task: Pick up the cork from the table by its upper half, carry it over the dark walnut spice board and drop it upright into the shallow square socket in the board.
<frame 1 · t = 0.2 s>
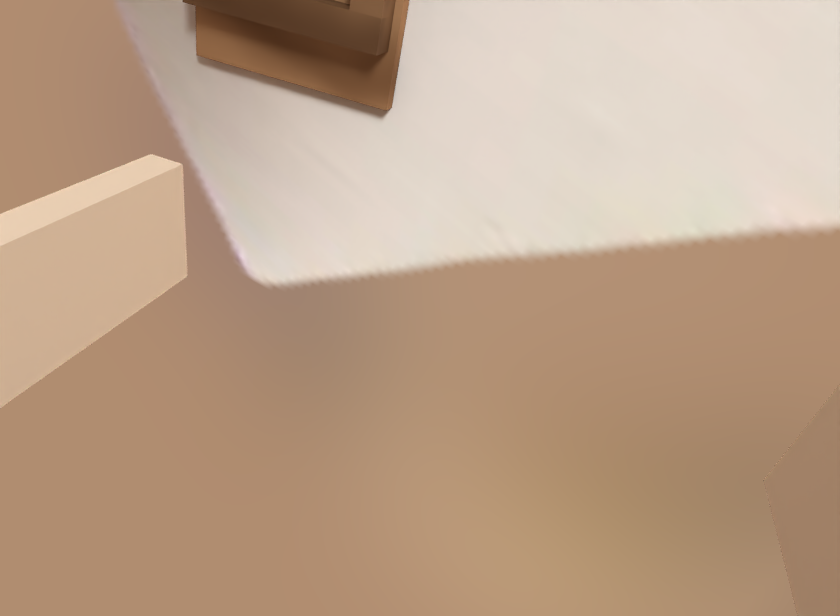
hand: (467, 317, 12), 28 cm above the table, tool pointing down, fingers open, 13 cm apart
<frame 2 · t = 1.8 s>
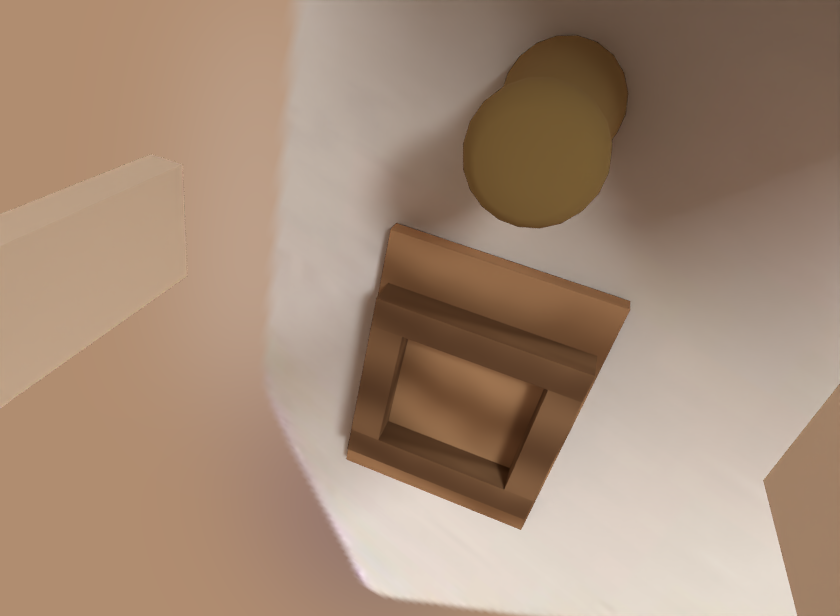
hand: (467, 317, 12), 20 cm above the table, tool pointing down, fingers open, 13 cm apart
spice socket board: (467, 388, 39), on the table
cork: (562, 102, 28), on the table
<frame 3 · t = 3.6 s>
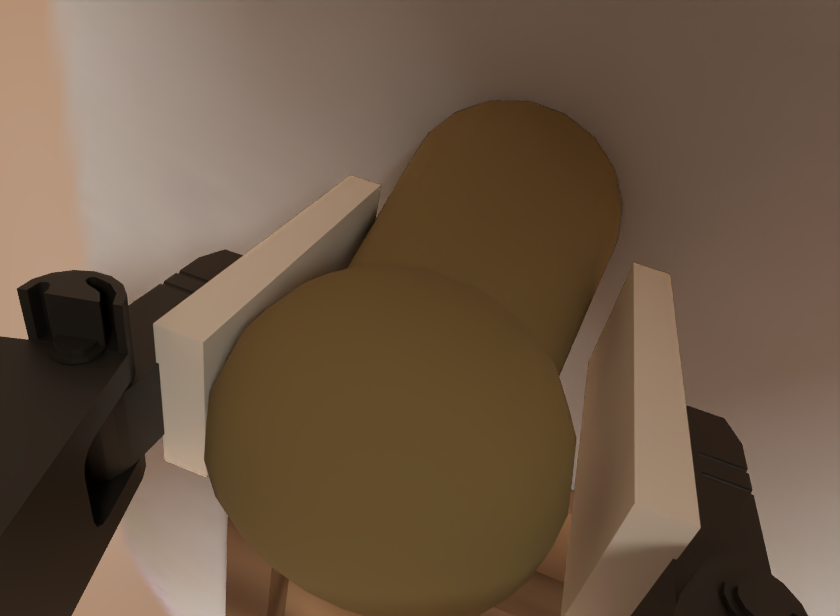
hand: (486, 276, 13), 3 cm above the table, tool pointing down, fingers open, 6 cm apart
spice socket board: (389, 587, 27), on the table
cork: (507, 211, 16), on the table, touching gripper
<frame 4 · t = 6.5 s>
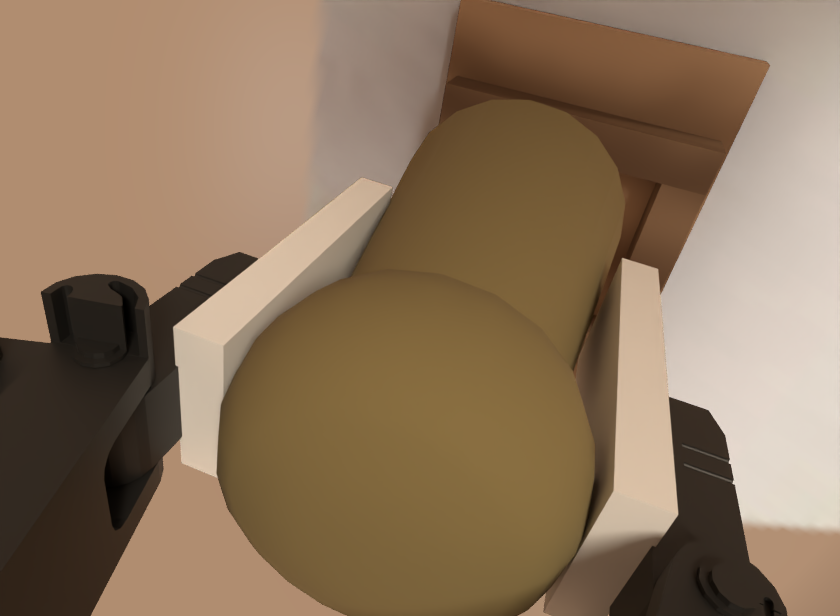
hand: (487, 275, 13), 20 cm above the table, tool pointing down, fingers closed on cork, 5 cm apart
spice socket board: (548, 219, 33), on the table
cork: (508, 211, 16), point 16 cm above the table, touching gripper
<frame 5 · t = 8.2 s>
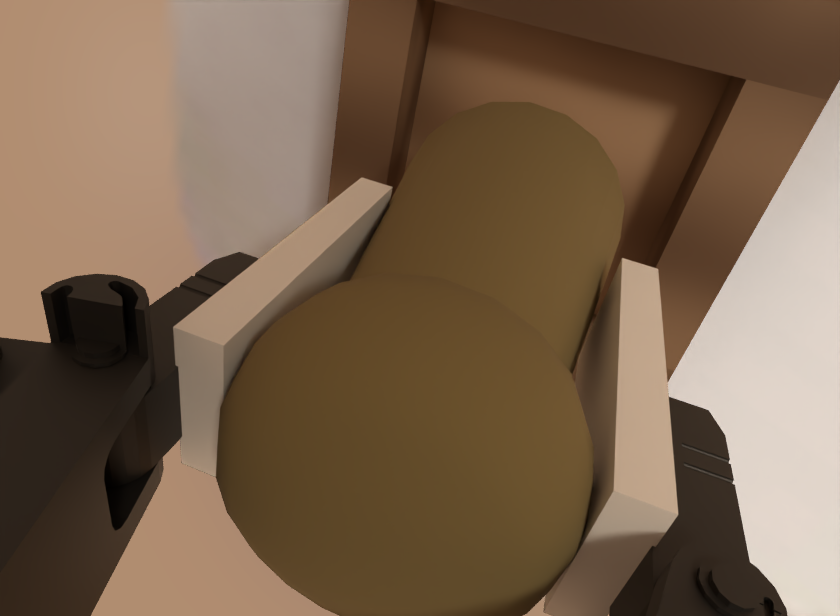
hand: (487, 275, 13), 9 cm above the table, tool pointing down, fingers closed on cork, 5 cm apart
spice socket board: (539, 163, 20), on the table
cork: (508, 212, 16), point 5 cm above the table, touching gripper
when the fingers open (5 cm above the table, at t = 9.7 s): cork stays where it is, resting on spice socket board.
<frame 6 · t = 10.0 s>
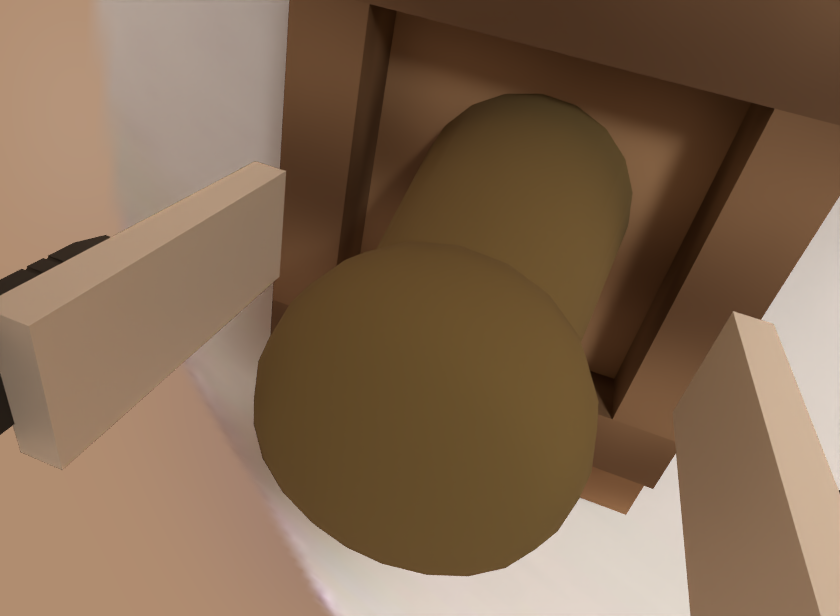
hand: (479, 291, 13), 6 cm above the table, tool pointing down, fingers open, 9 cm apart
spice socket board: (523, 197, 18), on the table
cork: (520, 200, 17), point 1 cm above the table, touching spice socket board
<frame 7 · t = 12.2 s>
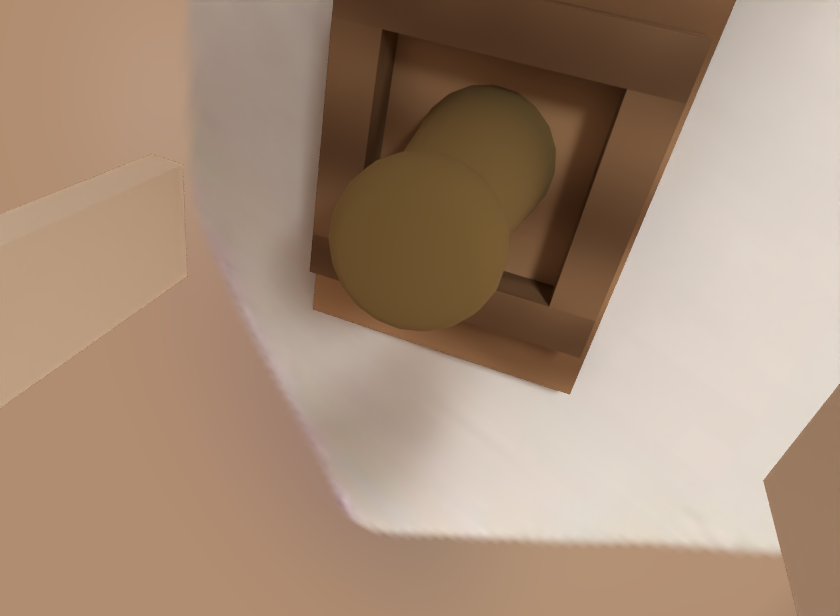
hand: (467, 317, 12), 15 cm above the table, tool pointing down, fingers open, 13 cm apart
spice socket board: (486, 158, 25), on the table
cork: (484, 158, 25), point 1 cm above the table, touching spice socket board
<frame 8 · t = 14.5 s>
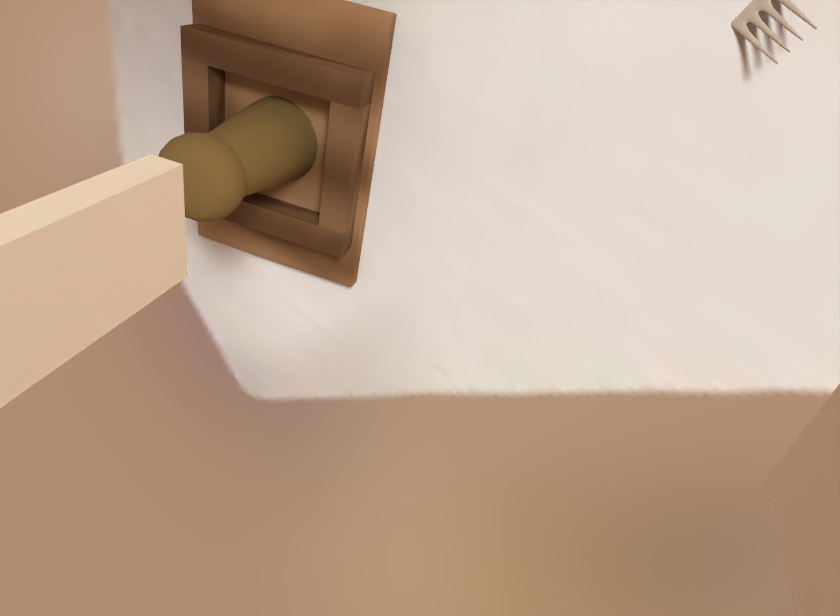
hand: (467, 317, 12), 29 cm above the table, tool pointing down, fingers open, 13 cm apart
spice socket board: (286, 138, 43), on the table
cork: (281, 138, 42), point 1 cm above the table, touching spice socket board
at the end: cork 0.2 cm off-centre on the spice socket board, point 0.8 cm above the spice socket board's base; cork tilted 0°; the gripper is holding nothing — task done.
